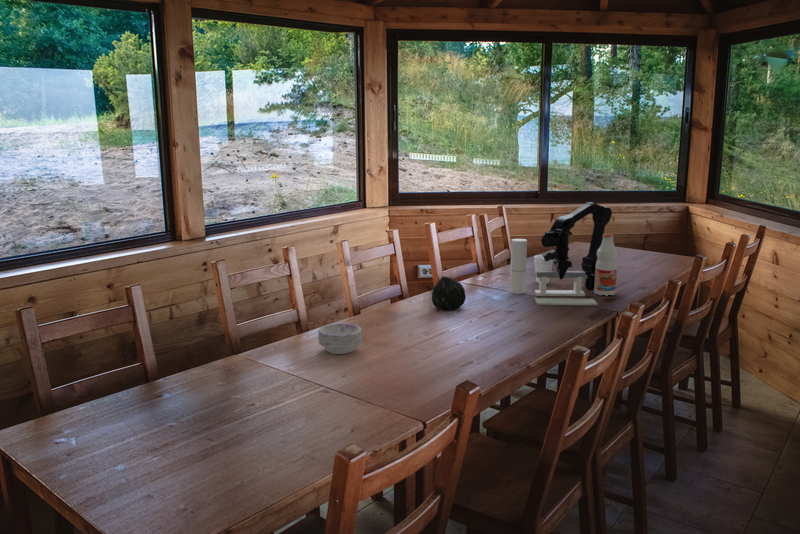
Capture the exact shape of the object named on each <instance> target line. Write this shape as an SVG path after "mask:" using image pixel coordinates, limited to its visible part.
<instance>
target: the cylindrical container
mask: <svg viewBox="0 0 800 534" xmlns="http://www.w3.org/2000/svg"><path fill="white" fill-rule="evenodd" d="M510 244H511V245H510V246H511V247H510V275H509V276H510V280H509V292H510V294H515V295H516V294H517V295H521V294H522V293H523V294H525V293H526V281H527V278H526V277H527V255H528V254H527V252H528V250H527V249H528V239H525V238H511V242H510ZM523 294H522V295H523Z"/></svg>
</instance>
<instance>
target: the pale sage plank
mask: <svg viewBox="0 0 800 534" xmlns="http://www.w3.org/2000/svg"><path fill="white" fill-rule="evenodd" d="M534 301H535V303H536V305H538V306H598V305H599V304H598V302H597V301H596V300H595V299H594V298H572V297H571V298H566V297H565V298H561V297H559V298H556V297H554V298H552V297H551V298H549V297H548V298H547V297H546V298H545V297H535V298H534Z"/></svg>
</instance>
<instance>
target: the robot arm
mask: <svg viewBox="0 0 800 534" xmlns="http://www.w3.org/2000/svg"><path fill="white" fill-rule="evenodd" d="M589 214H591V216H592V218H591V219H592V222H593V225H594V226H593V230H592V233H591V234H592V235H591V238H590V245H589V249H588V254H586V256H582V260H581V261H582V262H581V264H580V266H581V269H582V271H585V272H586V275H585V278H584V287H585V289H587V290H594V285H595V268H596V262H597V250H598V249H599V247H600V246H601V244H602V241H603V234H605V229H606V226H607V225H608V223H609V222H610V221H611V218H612V215H613V210H611V208H610V207H609V206H603V205H600V204H598V203H595V202H590V201H589V202H585V203H584V205H582V206H580V207H578V208H577V209H576V210H574V211H572V212H571V213H569V214H566V215H562V216H561V215H560V216H558V217H556V218H555V220H554V222H553V224H552V226H551V227H550V230H548V231H546V232H544V234H543V235H542V237H541V240H540V241H541V245H542V247H544V248H551V247H553V249H551V250H548V251H546V252H543V253H542V254H541V255H543V258H544V260H545V261H549V260H551V259H552V260H553V264H554V265H555V266H556V271H559V276H560V278H559V280H563V279H564V278H563V277H564V275H565V273H566V271H569V268H572V267H573V262H572V261H571V260H570V257H569V252H570V248H569V244H570V243H569V241H570V236H573V233H572V231H571V230H572V228H574V227H575V224H576V223H577V222H579V221H580V220H582V219H584V218H585V217H587V216H588V215H589Z"/></svg>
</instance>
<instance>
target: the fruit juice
mask: <svg viewBox="0 0 800 534" xmlns="http://www.w3.org/2000/svg"><path fill="white" fill-rule="evenodd" d="M614 238H615V235H614V234H613V233H604V234H603V239H602V244H601V246H600V247H599V249H598V250H597V262H596V268H595V285H594V289H593V292H594V294H595V295H597V294H598V296H602V295H605V296H604V297H609V296H608V295H612V296H615V294H616V288H617V287H616V285H617V272H618V262H617V258H618V251H617V249H616V246H615V243H614Z"/></svg>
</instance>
